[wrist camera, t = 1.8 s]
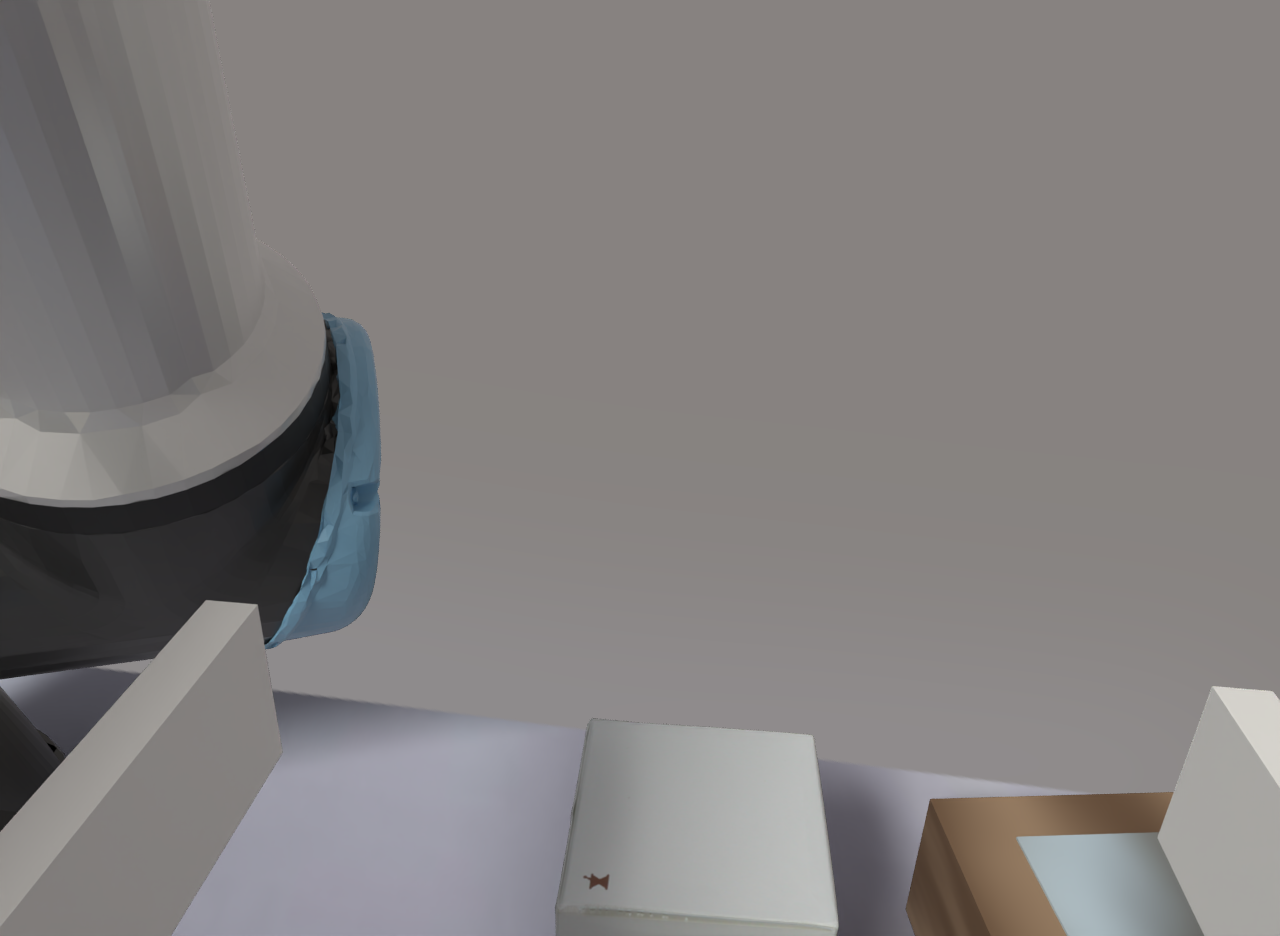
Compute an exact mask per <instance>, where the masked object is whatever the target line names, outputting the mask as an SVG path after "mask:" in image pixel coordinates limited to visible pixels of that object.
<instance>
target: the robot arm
mask: <svg viewBox="0 0 1280 936" xmlns="http://www.w3.org/2000/svg"><path fill="white" fill-rule="evenodd" d="M379 417H380V416H379V401H378V388H377V378H376V370H375V364H374V356H373V351H372V347H371V342H370V339H369V336H368V334H367V333H366V330H365V329H364V328H363V327H362V326H361V325H360V324H359V323H357V322H355V321H354V320H352V319H346V318H337V317H335V316H334V315H332V314H330V313H326V314H325V313H322V312H321V310H320V307H319V305H318V302H317V299H316V297H315V295H314V293H313V291H312V289H311V287H310V285H309V283H308V282H307V281H306V279H305V278H304V277H303V276H302V274H301V273H300V272H299V270H298V269H297V268H296V267H295V266H294V265H292V264H291V263H290V262H289V261H288V260H287V259H286V258H285V257H283V256H282V255H281V254H280V253H278V252H277V251H275V250H274V249H272V248H271V247H270V246H268V245H267V244H265V243H263V242H261V241H259V240H257V239H256V235H255V229H254V224H253V219H252V215H251V209H250V204H249V199H248V194H247V189H246V184H245V179H244V174H243V169H242V164H241V159H240V153H239V148H238V143H237V138H236V134H235V128H234V123H233V119H232V113H231V109H230V103H229V99H228V93H227V88H226V83H225V78H224V73H223V68H222V63H221V57H220V52H219V48H218V42H217V37H216V32H215V27H214V22H213V17H212V12H211V7H210V2H209V0H0V679H6V678H14V677H21V676H28V675H36V674H43V673H51V672H58V671H66V670H73V669H80V668H88V667H95V666H103V665H110V664H117V663H125V662H132V661H140V660H147V659H153V661H152V662H151V663H150V664H149V665H148V666H147V667H146V668H145V669H144V671H143V672H142V673H141V674H140V675H139V676H138V677H137V678H136V680H135V681H134V682H133V683H132V684H131V685H130V686H129V688H128V689H127V690H126V691H125V692H124V693H123V694H122V695H121V697H120V698H119V699H118V700H117V701H116V702H115V703H114V704H113V706H112V707H111V708H110V709H109V710H108V711H107V712H106V713H105V715H104V716H103V717H102V718H101V719H100V720H99V721H98V722H97V724H96V725H95V726H94V727H93V728H92V729H91V730H90V731H89V733H88V734H87V735H86V736H85V737H84V738H83V739H82V740H81V742H80V743H79V744H78V745H77V746H76V747H75V748H74V749H73V751H72V752H71V753H70V754H69V755H68V756H67V757H66V756H65V754H64V753H63V752H62V751H61V749H60V748H59V747H58V746H57V745H56V744H55V743H54V742H53V741H52V740H51V739H50V738H49V737H48V736H46V735H45V734H44V733H42V732H41V731H39V730H37V729H36V728H35V727H34V726H33V725H32V724H31V722H30V721H29V720H28V719H27V717H26V716H25V715H24V714H23V713H22V711H21V710H20V709H19V708H18V707H17V705H16V704H15V703H14V702H13V701H12V700H11V699H10V697H9V696H8V695H7V694H6V693H5V691H4V690H3V689H2V688H1V687H0V936H171V935H172V933H173V932H174V930H175V928H176V927H177V925H178V923H179V922H180V920H181V919H182V917H183V915H184V914H185V912H186V910H187V909H188V907H189V905H190V904H191V902H192V901H193V899H194V897H195V896H196V894H197V892H198V891H199V889H200V887H201V886H202V884H203V883H204V881H205V879H206V878H207V876H208V874H209V873H210V871H211V869H212V868H213V866H214V865H215V863H216V861H217V860H218V858H219V856H220V855H221V853H222V851H223V850H224V848H225V847H226V845H227V843H228V842H229V840H230V838H231V837H232V835H233V833H234V832H235V830H236V829H237V827H238V825H239V824H240V822H241V820H242V819H243V817H244V815H245V814H246V812H247V811H248V809H249V807H250V806H251V804H252V802H253V801H254V799H255V797H256V796H257V794H258V793H259V791H260V789H261V788H262V786H263V784H264V783H265V781H266V779H267V778H268V776H269V774H270V773H271V771H272V770H273V768H274V766H275V765H276V763H277V761H278V760H279V758H280V756H281V755H282V753H283V751H282V745H281V739H280V733H279V727H278V721H277V715H276V709H275V704H274V698H273V692H272V686H271V680H270V674H269V668H268V663H267V657H266V651H265V649H271V648H274V647H276V646H278V645H279V644H280V643H282V642H283V641H285V640H291V639H297V638H302V637H307V636H312V635H318V634H322V633H328V632H333V631H336V630H339V629H342V628H344V627H346V626H348V625H349V624H351V623H352V622H353V621H354V620H355V619H357V618H358V617H359V616H360V615H361V613H362V612H363V611H364V609H365V608H366V606H367V604H368V602H369V600H370V597H371V595H372V592H373V588H374V583H375V578H376V571H377V563H378V552H379V538H380V500H379V495H378V493H377V490H378V488H379V484H380V464H381V439H380V418H379ZM1157 838H1158V840H1159V842H1160V844H1161V846H1162V849H1163V851H1164V853H1165V855H1166V857H1167V859H1168V861H1169V863H1170V865H1171V867H1172V869H1173V871H1174V874H1175V876H1176V878H1177V880H1178V882H1179V884H1180V886H1181V888H1182V890H1183V892H1184V894H1185V896H1186V899H1187V901H1188V903H1189V905H1190V907H1191V909H1192V911H1193V913H1194V915H1195V917H1196V919H1197V922H1198V924H1199V926H1200V928H1201V930H1202V932H1203V934H1204V936H1280V701H1279V699H1278V698H1277V697H1276V695H1275V694H1274V693H1273V692H1272V691H1262V690H1251V689H1240V688H1228V687H1215V686H1212V688H1211V691H1210V694H1209V697H1208V700H1207V702H1206V705H1205V708H1204V711H1203V713H1202V716H1201V719H1200V722H1199V724H1198V727H1197V730H1196V732H1195V736H1194V738H1193V741H1192V743H1191V746H1190V749H1189V752H1188V755H1187V757H1186V760H1185V763H1184V766H1183V769H1182V771H1181V774H1180V777H1179V779H1178V782H1177V785H1176V788H1175V790H1174V793H1173V796H1172V799H1171V801H1170V804H1169V807H1168V810H1167V812H1166V815H1165V818H1164V821H1163V823H1162V826H1161V829H1160V832H1159V834H1158V837H1157Z"/></svg>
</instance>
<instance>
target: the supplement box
mask: <svg viewBox="0 0 1280 936" xmlns="http://www.w3.org/2000/svg"><path fill="white" fill-rule="evenodd" d="M555 916H556V936H837V932H838V928H839V923H838V911H837V901H836V893H835V884H834V876H833V869H832V862H831V854H830V846H829V838H828V831H827V824H826V816H825V809H824V802H823V795H822V787H821V780H820V773H819V766H818V760H817V754H816V748H815V741H814V737H813V736H812V735H810V734H797V733H786V732H773V731H759V730H744V729H731V728H717V727H703V726H684V725H669V724H653V723H639V722H629V721H617V720H604V719H596V718H593V719H591V720H590V721H589V723H588V725H587V730H586V735H585V741H584V747H583V753H582V759H581V765H580V770H579V776H578V782H577V787H576V793H575V798H574V803H573V807H572V812H571V823H570V829H569V835H568V841H567V847H566V853H565V858H564V864H563V869H562V875H561V881H560V886H559V892H558V897H557V902H556V907H555Z"/></svg>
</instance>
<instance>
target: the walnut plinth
mask: <svg viewBox="0 0 1280 936" xmlns="http://www.w3.org/2000/svg"><path fill="white" fill-rule="evenodd" d="M1173 793H1174V792H1164V793H1127V794H1092V795H1057V796H1021V797H986V798H950V799H930V802H929V806H928V811H927V815H926V820H925V824H924V829H923V833H922V838H921V842H920V847H919V851H918V856H917V860H916V865H915V869H914V874H913V878H912V883H911V887H910V892H909V896H908V901H907V905H906V912H907V914H908V917H909V920H910V923H911V925H912V928H913V931H914V933H915V936H1204V934H1203V932H1202V930H1201V928H1200V926H1199V924H1198V922H1197V919H1196V917H1195V915H1194V913H1193V911H1192V909H1191V907H1190V905H1189V903H1188V901H1187V899H1186V896H1185V894H1184V892H1183V890H1182V888H1181V886H1180V884H1179V882H1178V880H1177V878H1176V876H1175V874H1174V871H1173V869H1172V867H1171V865H1170V863H1169V861H1168V859H1167V857H1166V855H1165V853H1164V851H1163V849H1162V846H1161V844H1160V842H1159V840H1158V838H1157V837H1158V834H1159V832H1160V829H1161V826H1162V823H1163V821H1164V818H1165V815H1166V812H1167V810H1168V807H1169V804H1170V801H1171V799H1172V796H1173Z"/></svg>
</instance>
